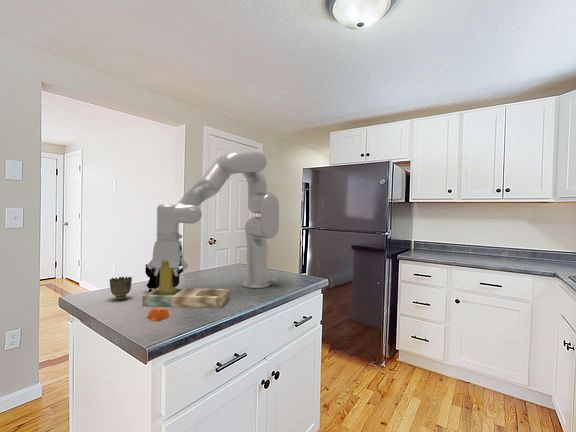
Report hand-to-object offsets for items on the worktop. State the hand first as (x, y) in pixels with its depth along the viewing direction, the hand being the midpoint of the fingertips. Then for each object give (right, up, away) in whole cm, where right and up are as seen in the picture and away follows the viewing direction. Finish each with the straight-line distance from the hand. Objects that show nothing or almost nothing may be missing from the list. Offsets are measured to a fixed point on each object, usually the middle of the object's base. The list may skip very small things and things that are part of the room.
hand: (167, 285), depth 109 cm
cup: (-18, -6, +1) cm, 19 cm away
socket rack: (+8, -6, 0) cm, 10 cm away
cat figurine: (-11, -6, +12) cm, 17 cm away
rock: (+4, -7, -17) cm, 18 cm away
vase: (0, -5, 0) cm, 5 cm away
